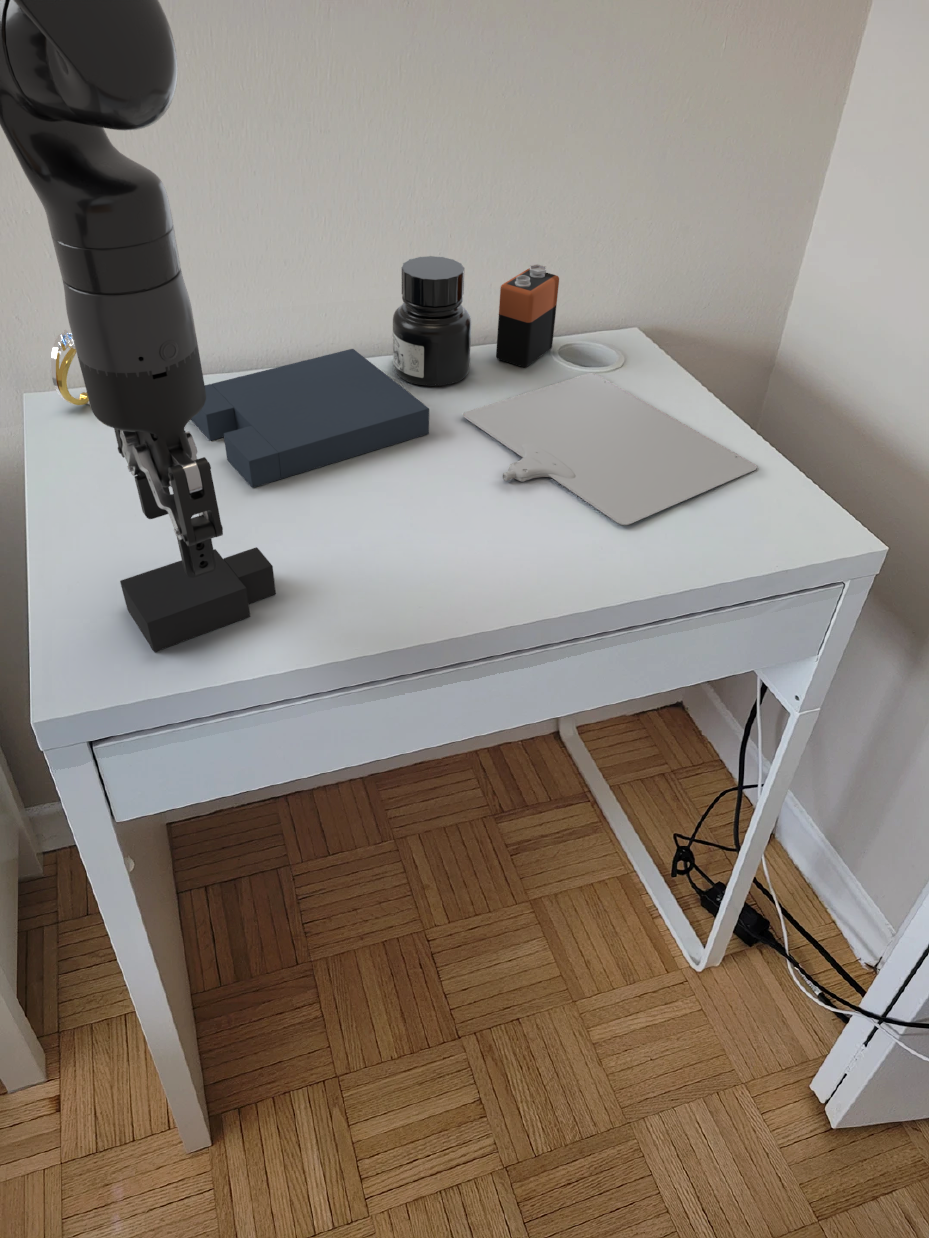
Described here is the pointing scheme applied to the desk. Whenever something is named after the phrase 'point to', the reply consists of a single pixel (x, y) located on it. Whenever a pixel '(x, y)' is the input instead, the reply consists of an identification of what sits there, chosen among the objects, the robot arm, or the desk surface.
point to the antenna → (607, 447)
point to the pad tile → (196, 597)
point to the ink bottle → (432, 323)
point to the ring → (64, 368)
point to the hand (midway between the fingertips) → (179, 542)
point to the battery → (527, 316)
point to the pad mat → (308, 415)
